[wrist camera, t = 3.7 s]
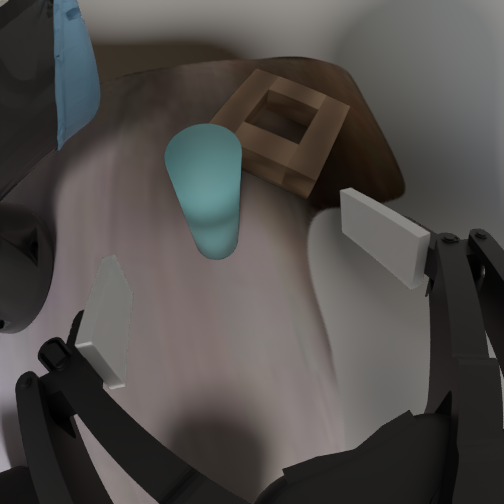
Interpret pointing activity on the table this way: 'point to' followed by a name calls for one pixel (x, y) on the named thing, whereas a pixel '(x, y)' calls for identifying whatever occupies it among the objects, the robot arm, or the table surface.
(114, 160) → the table surface
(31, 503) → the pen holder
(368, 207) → the robot arm
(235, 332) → the table surface
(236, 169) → the teal pin
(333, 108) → the walnut hole block
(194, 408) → the table surface
